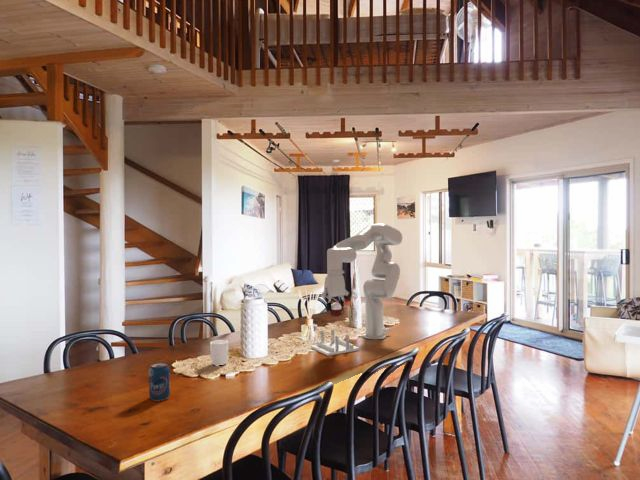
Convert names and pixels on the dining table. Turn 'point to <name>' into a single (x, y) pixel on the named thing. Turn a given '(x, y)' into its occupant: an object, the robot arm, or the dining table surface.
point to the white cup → (219, 351)
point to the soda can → (159, 381)
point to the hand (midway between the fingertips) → (335, 309)
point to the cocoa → (336, 309)
